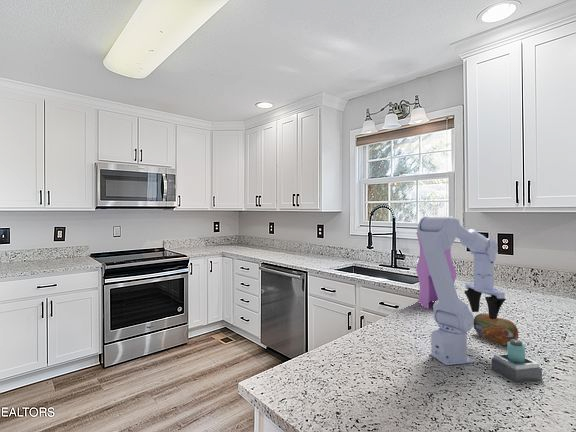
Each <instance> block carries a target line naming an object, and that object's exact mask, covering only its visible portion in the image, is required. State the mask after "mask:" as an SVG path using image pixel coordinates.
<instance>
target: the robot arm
mask: <svg viewBox="0 0 576 432" xmlns="http://www.w3.org/2000/svg"><path fill="white" fill-rule="evenodd" d="M477 231H478V230H477V229H475V228H470V229H466V227H464V226H463V225H461V223H460V220H459V219H458V218H456V217H455V216H448V217H447V216H435V217H434V216H433V217H431V216H423V217H422V218H421V219H420V220H419V222H418V225H417V228H416V232H418V235H419V238H420V241H421V244H422V246H423V253H424V256H425V259H426V262H427V265H428V269H429V272H430V275H431V278H432V281H433V284H434V287H435V291H436V294H437V297H438V300H437V301H436V302H433V306H432V308H433V319H434V321H435V323H436V324H437V327H438V329H436V330H433V331H432V332H431V337H430V339H431V341H430V342H431V343H430V345H431V346H430V352H429V355H431V356H432V358H435V359H436V360H437V361H439V362H441V364H444V366H452V365H454V366H455V365H461V364H463V365H464V364H471V363H475V360H473V359H472V358H470V357H469V356H468V343H467V342H468V341H467V340H468V338H467V337H468V335H467V334H468V332H470V331H471V330H472V328H474V318H475V316H474V315H473V313H478V312H480V304H481V303H480V301H481V297H482V294H485V295H488V296H484V300H485V301H486V305H487V308H488V309H487V310H488V314H489V318H490V319H497V317H498V315H499V312H500V309H501V307H502V306H503V304H504V303H505V301H506V298H505V291H502V290H499V289H497V287H496V286H495V277H494V275H495V273H494V272H495V269H494V268H495V263H494V262H495V261H496V260H497V252H498V248H499V247H498V244H497V241H496V240H494V239H493V238H489V237H488V238H487V237H486V236H485V235H484V234H481V233H479V232H477ZM456 238H457V239H458V240H459V242H460V244H461V245H462V246H463V247H466V248H468V249H469V251H470V254H471V255H473V283H472V282H465V290H464V292H463V293H464V294H465V296H466V298H467V300H468V303H469V306H470V308H469V306H468V305H467V303H466V302H464V301H463V300H462V299H460V298H459V296H458V293H457V290H456V287H455V282H454V283H453V279H452V276H451V273H450V269H449V266H448V263H447V260H446V256H445V253H444V252H445V250H448V249H450V248H452V246H453V244H454V241H455V240H456Z"/></svg>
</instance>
